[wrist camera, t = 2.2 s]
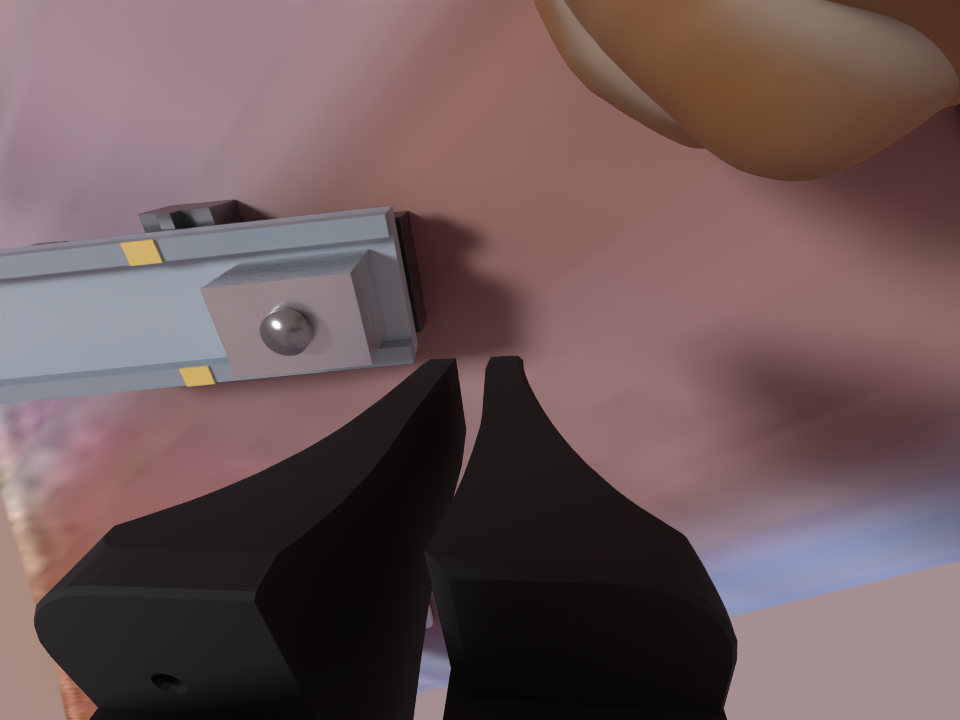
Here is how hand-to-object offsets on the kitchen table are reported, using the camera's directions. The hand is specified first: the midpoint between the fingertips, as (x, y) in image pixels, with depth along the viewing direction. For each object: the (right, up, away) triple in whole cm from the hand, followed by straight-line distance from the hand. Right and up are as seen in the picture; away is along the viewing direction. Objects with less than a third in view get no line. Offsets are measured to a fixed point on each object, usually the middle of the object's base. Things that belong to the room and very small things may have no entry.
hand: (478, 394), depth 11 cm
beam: (-12, +3, +9) cm, 15 cm away
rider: (-6, +3, +8) cm, 11 cm away
